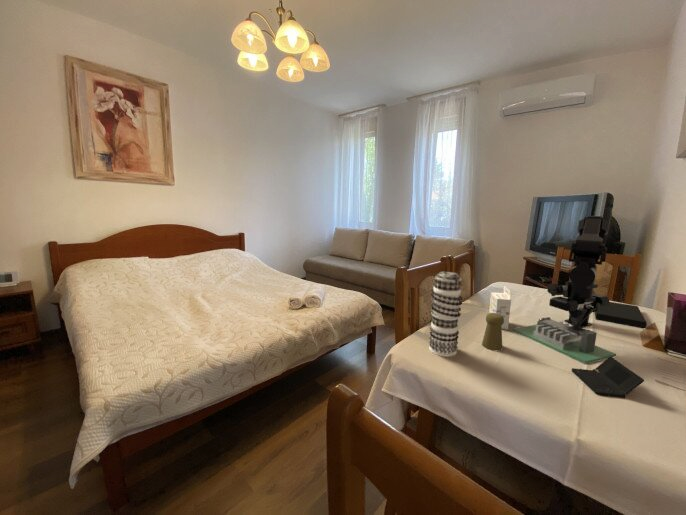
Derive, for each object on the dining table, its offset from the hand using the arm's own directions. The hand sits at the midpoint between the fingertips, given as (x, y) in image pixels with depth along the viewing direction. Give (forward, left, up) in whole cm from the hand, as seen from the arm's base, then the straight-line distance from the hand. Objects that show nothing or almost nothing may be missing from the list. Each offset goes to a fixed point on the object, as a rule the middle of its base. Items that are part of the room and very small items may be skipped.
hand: (575, 327), depth 92 cm
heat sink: (0, -3, -6) cm, 7 cm away
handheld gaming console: (+13, +16, -8) cm, 22 cm away
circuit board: (0, -4, -7) cm, 8 cm away
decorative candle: (+41, -12, -7) cm, 43 cm away
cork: (+24, -9, -7) cm, 27 cm away
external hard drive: (-48, -14, -8) cm, 51 cm away
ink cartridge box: (+8, -22, -7) cm, 25 cm away
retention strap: (0, -4, -2) cm, 5 cm away
